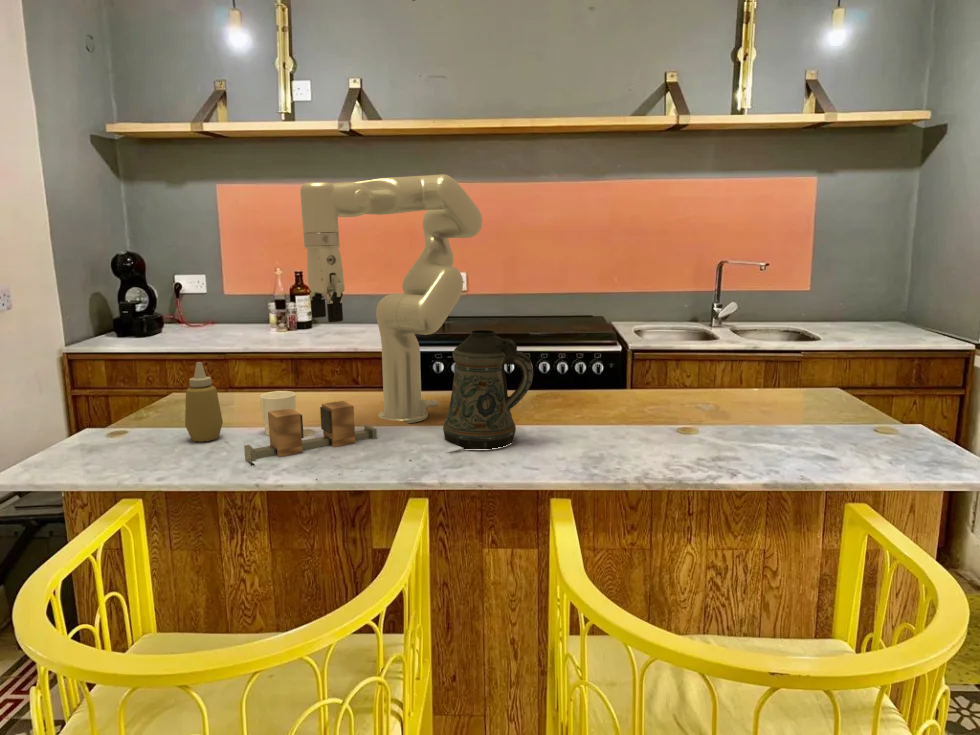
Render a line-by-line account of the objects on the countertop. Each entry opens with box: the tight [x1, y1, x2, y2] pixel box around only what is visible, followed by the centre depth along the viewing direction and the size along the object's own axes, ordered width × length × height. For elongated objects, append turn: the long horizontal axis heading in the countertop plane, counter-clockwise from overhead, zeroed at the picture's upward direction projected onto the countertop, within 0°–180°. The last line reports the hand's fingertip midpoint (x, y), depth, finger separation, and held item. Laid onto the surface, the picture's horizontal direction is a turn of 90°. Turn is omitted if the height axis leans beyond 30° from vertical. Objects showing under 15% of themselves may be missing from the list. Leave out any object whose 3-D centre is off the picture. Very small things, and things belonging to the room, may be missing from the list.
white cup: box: [259, 390, 297, 436], centre depth 166 cm, size 8×8×10 cm
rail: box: [243, 424, 378, 467], centre depth 155 cm, size 28×4×3 cm, turn 124°
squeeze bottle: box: [184, 361, 224, 443], centre depth 163 cm, size 8×8×18 cm
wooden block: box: [319, 400, 356, 448], centre depth 157 cm, size 6×6×8 cm
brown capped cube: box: [268, 408, 304, 458], centre depth 151 cm, size 6×6×8 cm
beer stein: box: [442, 329, 534, 449], centre depth 160 cm, size 16×19×25 cm
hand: (327, 319), depth 158 cm, fingers open, 9 cm apart
